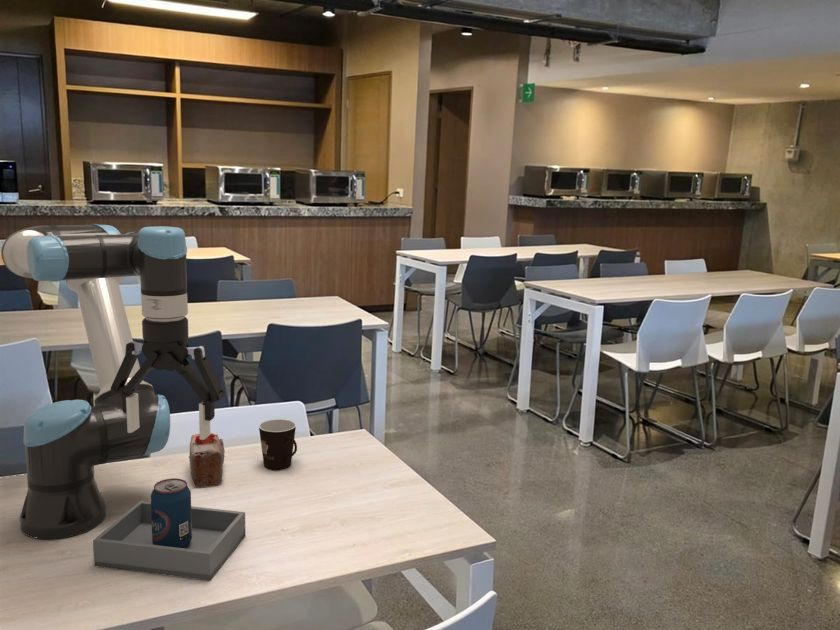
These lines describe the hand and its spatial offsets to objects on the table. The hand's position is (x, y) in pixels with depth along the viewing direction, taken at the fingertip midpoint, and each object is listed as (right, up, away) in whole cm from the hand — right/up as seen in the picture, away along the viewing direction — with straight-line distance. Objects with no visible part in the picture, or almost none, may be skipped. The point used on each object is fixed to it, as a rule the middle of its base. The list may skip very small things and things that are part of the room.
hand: (169, 433), depth 128 cm
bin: (-1, -22, +4) cm, 23 cm away
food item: (-4, -16, +37) cm, 41 cm away
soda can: (-1, -21, +4) cm, 22 cm away
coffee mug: (+11, -15, +42) cm, 46 cm away
